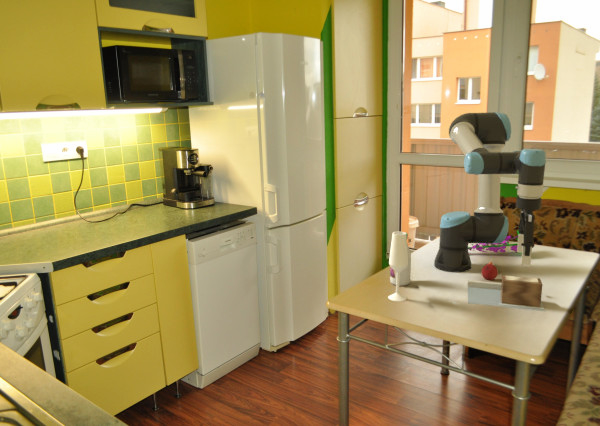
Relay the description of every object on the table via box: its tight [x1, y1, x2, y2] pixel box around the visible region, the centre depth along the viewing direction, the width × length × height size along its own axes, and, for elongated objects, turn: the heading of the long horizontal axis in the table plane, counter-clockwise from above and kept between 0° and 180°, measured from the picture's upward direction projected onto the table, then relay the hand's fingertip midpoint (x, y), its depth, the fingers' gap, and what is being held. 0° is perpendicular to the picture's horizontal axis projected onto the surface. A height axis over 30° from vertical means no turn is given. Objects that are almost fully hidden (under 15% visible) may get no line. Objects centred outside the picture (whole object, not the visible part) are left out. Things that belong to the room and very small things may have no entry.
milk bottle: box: [389, 232, 412, 287], centre depth 191 cm, size 8×8×20 cm
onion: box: [481, 261, 499, 281], centre depth 193 cm, size 6×6×8 cm
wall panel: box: [467, 279, 546, 312], centre depth 174 cm, size 24×18×3 cm
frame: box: [501, 274, 543, 307], centre depth 169 cm, size 12×6×8 cm, turn 72°
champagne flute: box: [387, 231, 408, 302], centre depth 176 cm, size 7×7×24 cm
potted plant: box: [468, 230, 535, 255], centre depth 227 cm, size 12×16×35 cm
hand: (523, 258), depth 167 cm, fingers open, 13 cm apart
